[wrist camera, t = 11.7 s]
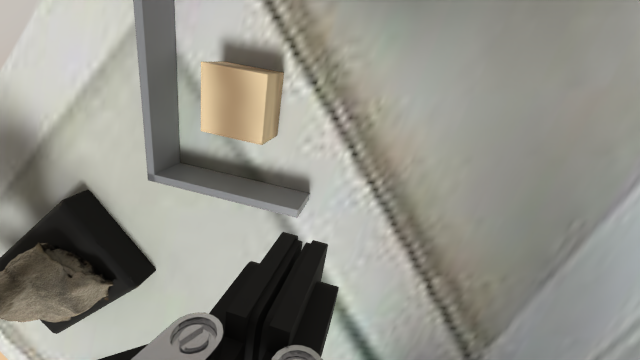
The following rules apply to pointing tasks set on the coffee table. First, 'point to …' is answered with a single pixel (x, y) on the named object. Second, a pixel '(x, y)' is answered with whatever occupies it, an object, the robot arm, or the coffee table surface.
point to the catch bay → (163, 123)
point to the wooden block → (240, 101)
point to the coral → (69, 266)
